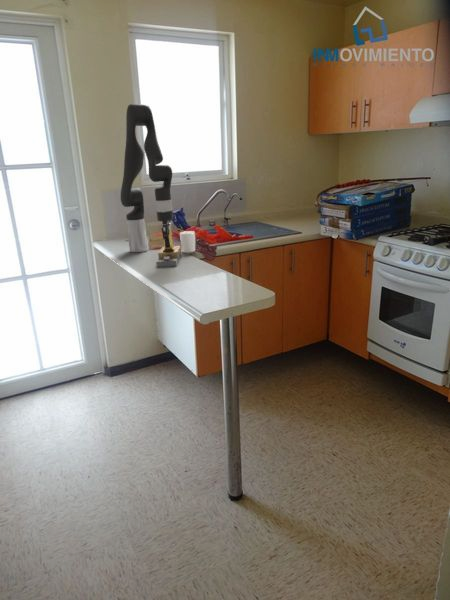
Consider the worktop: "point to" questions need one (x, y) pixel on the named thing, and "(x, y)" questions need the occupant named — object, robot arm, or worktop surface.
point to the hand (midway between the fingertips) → (168, 246)
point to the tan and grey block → (169, 257)
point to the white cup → (187, 241)
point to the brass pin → (170, 243)
